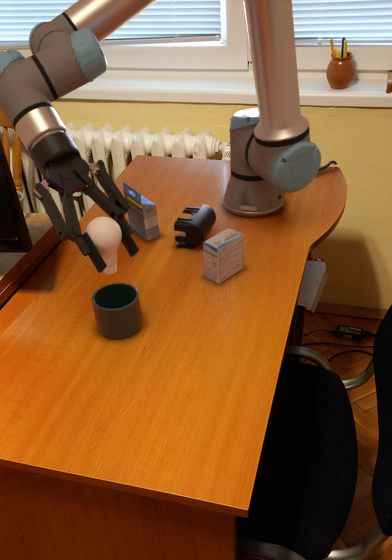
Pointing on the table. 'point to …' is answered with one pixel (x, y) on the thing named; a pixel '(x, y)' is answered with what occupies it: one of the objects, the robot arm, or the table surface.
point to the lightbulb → (106, 240)
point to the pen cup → (117, 311)
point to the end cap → (194, 226)
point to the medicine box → (223, 255)
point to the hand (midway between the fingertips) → (119, 261)
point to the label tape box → (141, 214)
